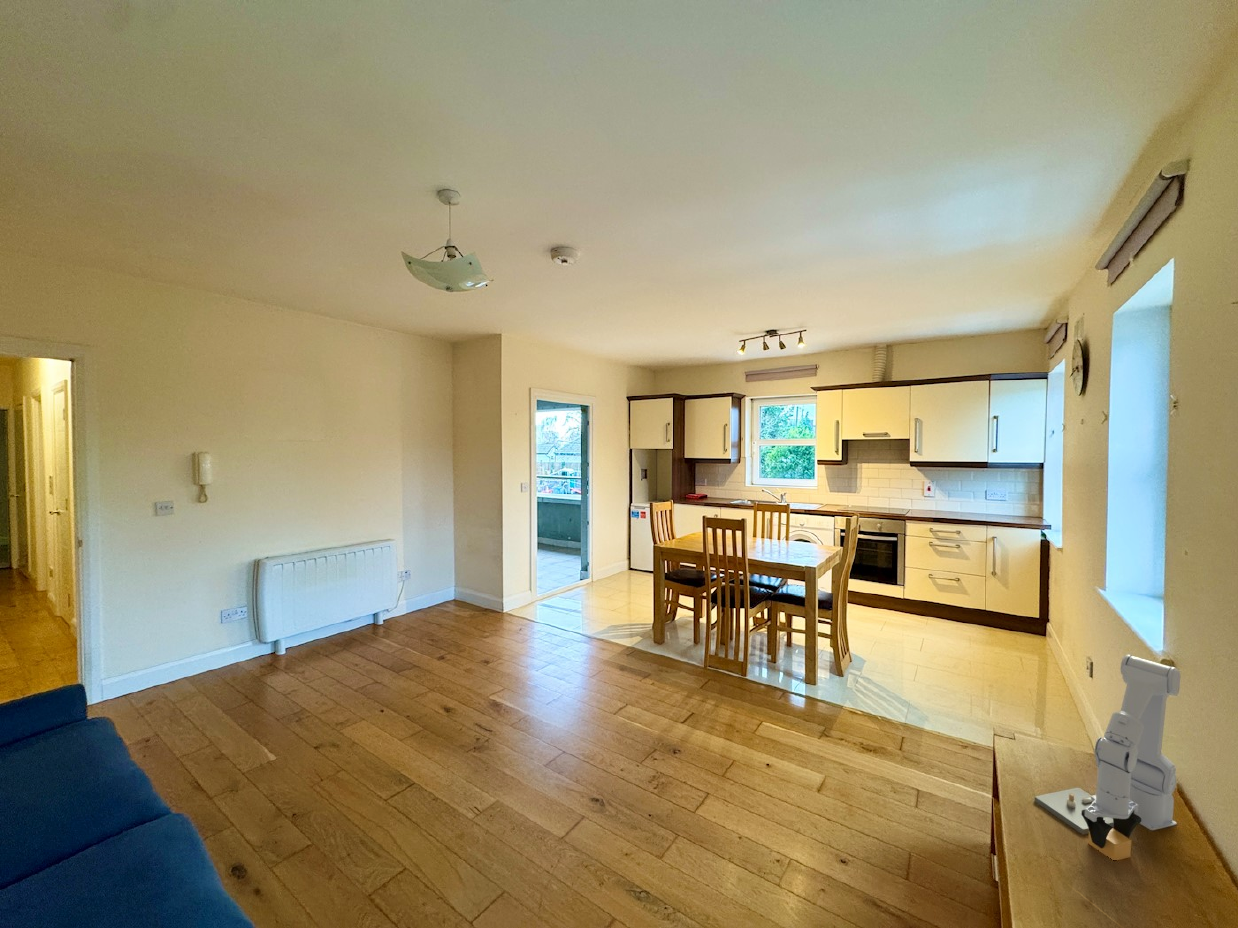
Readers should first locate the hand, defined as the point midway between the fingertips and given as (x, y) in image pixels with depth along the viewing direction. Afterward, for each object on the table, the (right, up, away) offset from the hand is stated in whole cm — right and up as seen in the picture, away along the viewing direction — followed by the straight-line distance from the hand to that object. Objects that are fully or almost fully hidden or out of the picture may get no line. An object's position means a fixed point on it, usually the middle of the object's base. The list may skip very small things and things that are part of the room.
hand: (1109, 842), depth 124 cm
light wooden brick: (0, -2, 0) cm, 2 cm away
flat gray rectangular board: (+4, -1, +12) cm, 13 cm away
